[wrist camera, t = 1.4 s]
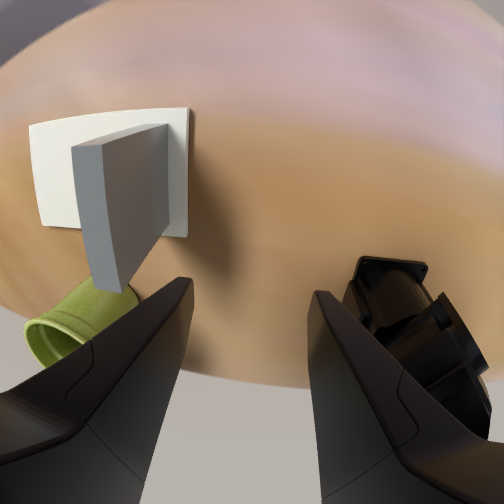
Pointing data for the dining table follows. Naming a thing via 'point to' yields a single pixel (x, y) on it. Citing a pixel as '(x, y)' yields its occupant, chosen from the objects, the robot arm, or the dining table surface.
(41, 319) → the plant pot
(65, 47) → the dining table surface
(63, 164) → the white rectangular board
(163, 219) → the slate tile
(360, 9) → the dining table surface
